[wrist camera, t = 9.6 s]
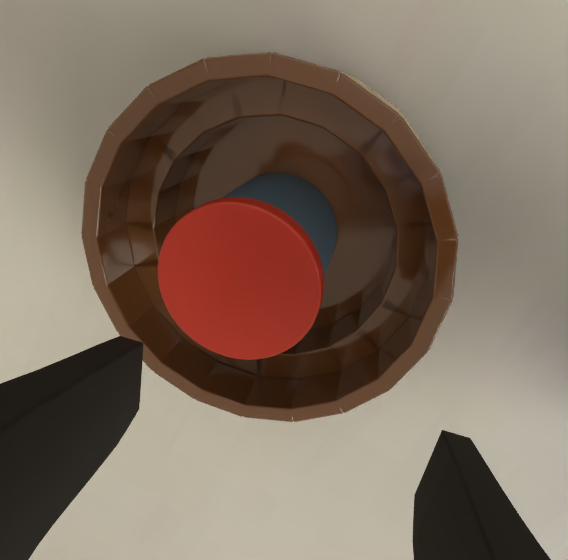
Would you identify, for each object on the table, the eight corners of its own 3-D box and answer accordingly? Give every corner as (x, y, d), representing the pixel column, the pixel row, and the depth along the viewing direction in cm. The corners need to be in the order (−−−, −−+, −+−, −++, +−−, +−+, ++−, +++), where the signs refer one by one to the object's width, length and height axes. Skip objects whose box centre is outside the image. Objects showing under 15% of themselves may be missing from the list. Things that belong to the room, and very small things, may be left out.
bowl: (388, 0, 15) (386, -31, 11) (475, 322, 19) (499, 386, 15) (97, 134, 19) (17, 147, 15) (214, 379, 23) (175, 443, 19)
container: (316, 149, 17) (284, 176, 12) (358, 269, 18) (344, 341, 13) (201, 192, 18) (128, 232, 13) (248, 300, 20) (198, 374, 15)
